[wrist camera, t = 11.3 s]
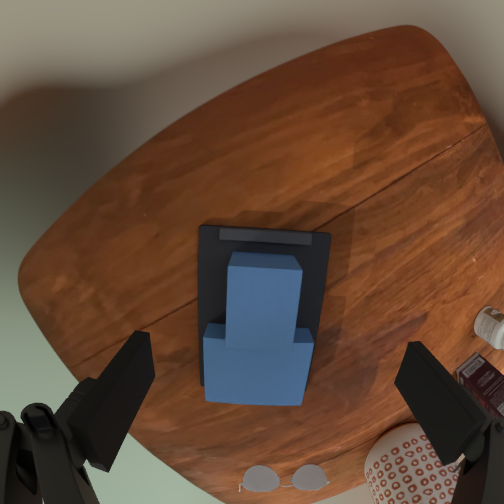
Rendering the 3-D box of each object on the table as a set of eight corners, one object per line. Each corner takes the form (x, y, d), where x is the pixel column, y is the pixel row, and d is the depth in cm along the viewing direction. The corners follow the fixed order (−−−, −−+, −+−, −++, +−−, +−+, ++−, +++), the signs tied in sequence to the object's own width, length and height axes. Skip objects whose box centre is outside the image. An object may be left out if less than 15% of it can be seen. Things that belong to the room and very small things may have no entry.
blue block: (233, 251, 25) (227, 265, 20) (293, 255, 25) (302, 270, 20) (230, 321, 27) (225, 347, 22) (286, 324, 27) (292, 351, 22)
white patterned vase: (432, 399, 30) (516, 526, 3) (426, 441, 33) (482, 547, 5) (353, 435, 31) (404, 593, 4) (360, 471, 34) (395, 591, 7)
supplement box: (478, 381, 30) (527, 433, 15) (458, 398, 31) (503, 456, 15) (477, 349, 29) (538, 405, 13) (455, 368, 29) (512, 432, 14)
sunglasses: (327, 462, 33) (331, 487, 28) (315, 479, 36) (317, 501, 31) (240, 464, 33) (238, 490, 28) (238, 480, 36) (236, 502, 31)
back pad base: (200, 224, 25) (191, 230, 22) (329, 232, 25) (341, 239, 22) (201, 382, 29) (195, 403, 26) (304, 387, 29) (309, 408, 26)
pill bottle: (495, 307, 27) (528, 328, 20) (483, 334, 28) (514, 358, 21) (481, 302, 27) (516, 324, 20) (468, 331, 28) (500, 357, 20)
